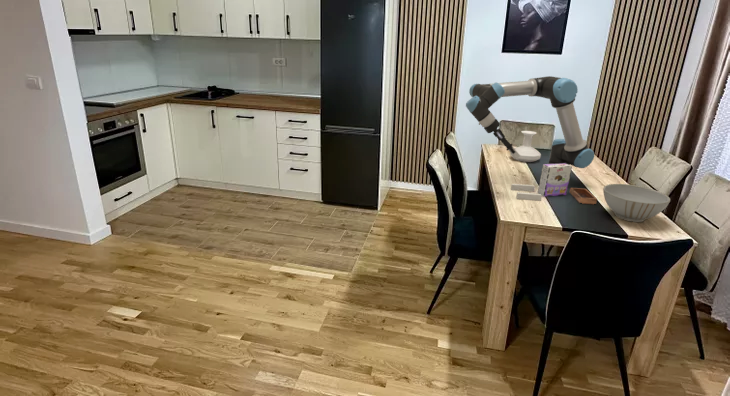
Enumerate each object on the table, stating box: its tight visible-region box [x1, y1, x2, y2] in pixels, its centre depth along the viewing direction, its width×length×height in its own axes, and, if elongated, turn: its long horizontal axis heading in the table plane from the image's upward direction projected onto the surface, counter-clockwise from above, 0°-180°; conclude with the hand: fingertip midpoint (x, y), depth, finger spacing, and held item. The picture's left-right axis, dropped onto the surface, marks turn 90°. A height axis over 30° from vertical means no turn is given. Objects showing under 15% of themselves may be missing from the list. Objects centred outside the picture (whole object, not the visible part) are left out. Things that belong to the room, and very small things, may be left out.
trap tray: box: [569, 187, 598, 205], centre depth 222 cm, size 8×16×3 cm, turn 173°
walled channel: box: [510, 183, 543, 201], centre depth 225 cm, size 12×16×3 cm
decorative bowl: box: [602, 183, 671, 223], centre depth 199 cm, size 27×27×12 cm
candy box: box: [537, 163, 573, 197], centre depth 225 cm, size 14×6×16 cm, turn 102°
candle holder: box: [509, 130, 542, 163], centre depth 290 cm, size 20×20×19 cm
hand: (517, 156), depth 220 cm, fingers closed
